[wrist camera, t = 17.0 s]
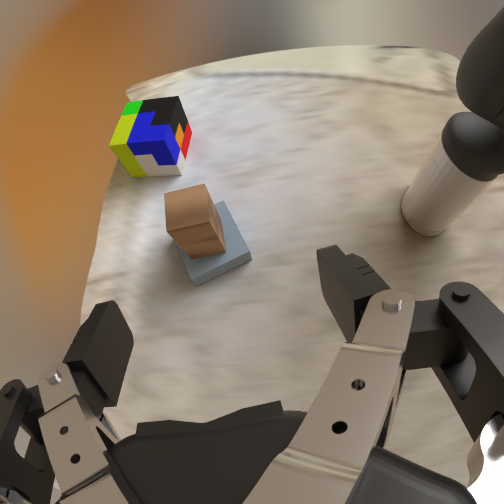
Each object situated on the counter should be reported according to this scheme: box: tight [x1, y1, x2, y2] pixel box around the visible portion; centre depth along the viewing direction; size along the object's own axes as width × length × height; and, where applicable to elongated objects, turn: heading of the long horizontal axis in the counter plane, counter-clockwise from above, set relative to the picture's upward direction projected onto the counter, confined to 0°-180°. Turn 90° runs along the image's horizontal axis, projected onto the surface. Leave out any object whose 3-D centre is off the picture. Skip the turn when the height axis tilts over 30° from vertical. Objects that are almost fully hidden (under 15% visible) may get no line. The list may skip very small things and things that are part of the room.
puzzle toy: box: [109, 96, 192, 177], centre depth 51 cm, size 10×10×10 cm
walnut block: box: [164, 184, 226, 259], centre depth 40 cm, size 5×5×10 cm
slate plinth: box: [174, 201, 252, 286], centre depth 46 cm, size 9×9×4 cm
